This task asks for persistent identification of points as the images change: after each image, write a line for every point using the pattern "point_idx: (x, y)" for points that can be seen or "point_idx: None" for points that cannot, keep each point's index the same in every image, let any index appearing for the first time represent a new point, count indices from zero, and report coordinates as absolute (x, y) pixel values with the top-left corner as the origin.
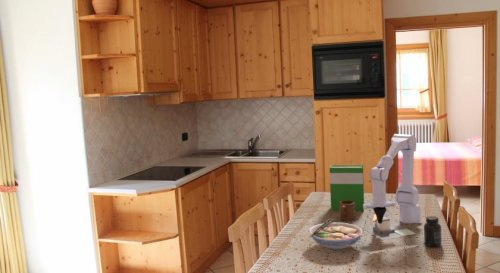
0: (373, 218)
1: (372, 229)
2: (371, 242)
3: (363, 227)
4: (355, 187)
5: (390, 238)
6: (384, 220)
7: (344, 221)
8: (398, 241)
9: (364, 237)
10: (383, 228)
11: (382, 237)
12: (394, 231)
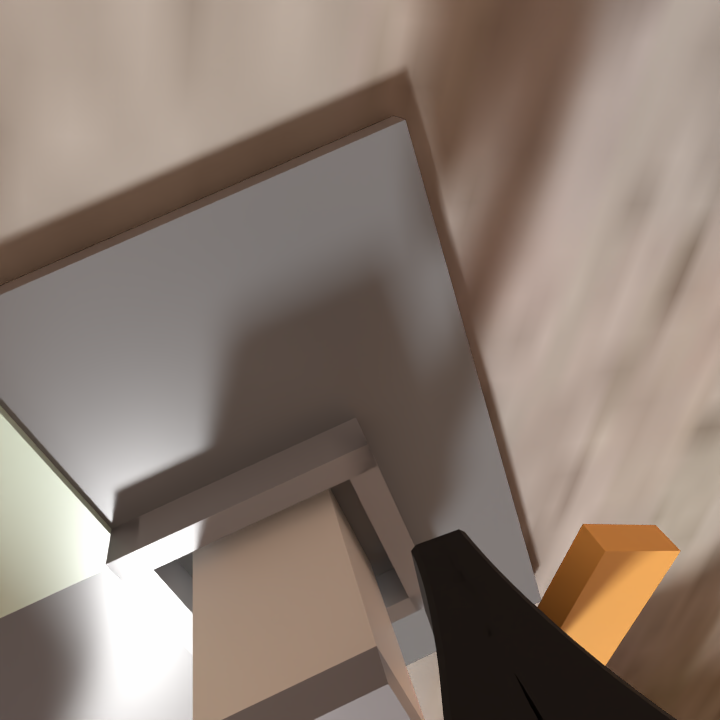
0: None
1: None
2: (583, 74)
3: None
4: None
5: (214, 202)
6: (320, 693)
7: None
8: (38, 108)
9: (599, 319)
10: (313, 539)
11: (365, 253)
12: (112, 535)
